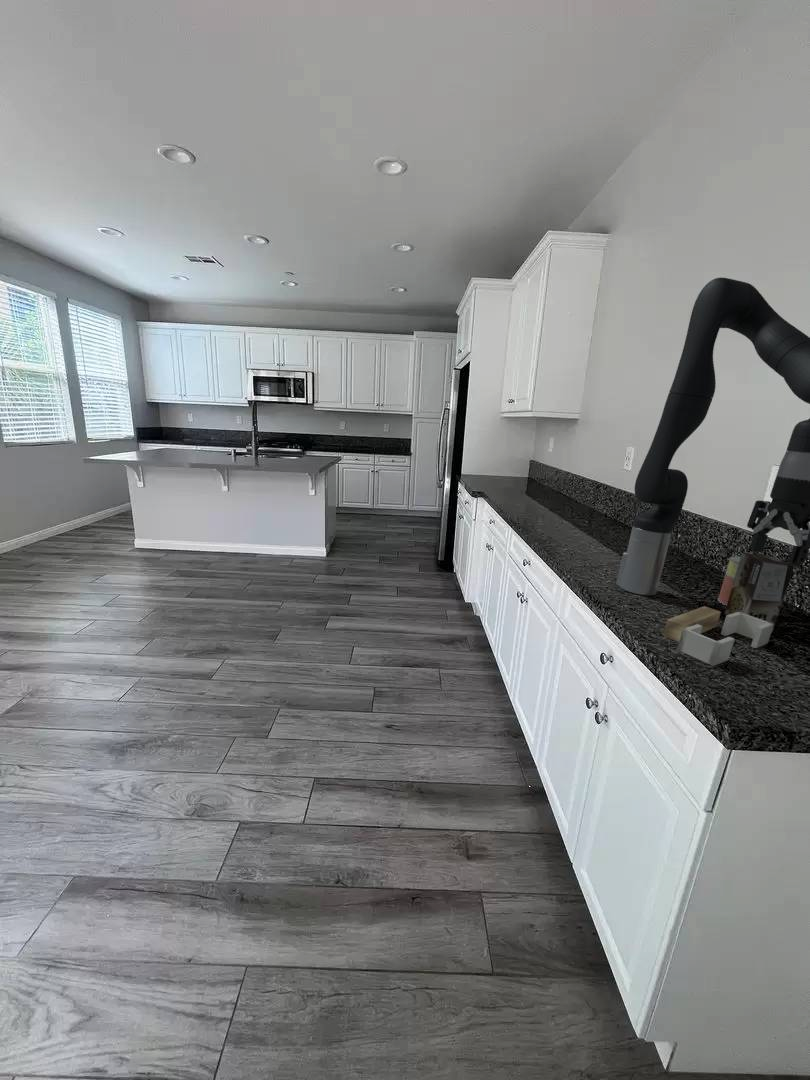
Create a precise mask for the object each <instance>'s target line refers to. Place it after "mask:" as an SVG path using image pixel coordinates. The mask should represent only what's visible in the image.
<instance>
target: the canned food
mask: <svg viewBox="0 0 810 1080" xmlns="http://www.w3.org/2000/svg"><path fill="white" fill-rule="evenodd" d="M740 558H741V556H734V555H733V556H730V557H729V560H728V564H727V567H726V571H725V575H724V576H723V577H724V578H723V582H722V584H721V588H720V592H719V596H718V597H717V601H718V603H720V604H721V603H722V605H723V606H725V605H726V607H727V603H728V600H729V596H730V593H731V589H732V586H733V582H734V579H735V575H736V572H737V568H738V565H739V561H740Z"/></svg>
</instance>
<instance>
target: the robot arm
mask: <svg viewBox="0 0 810 1080" xmlns="http://www.w3.org/2000/svg"><path fill="white" fill-rule="evenodd" d="M720 329H730V330H731V331H734V332H736V333H738V334H741V335H742V336H743V337H744V336H745V338H747V339H748V340H749V341H750V342H751V343H752V345H753V346H754V350H755V352H756V354H757V355H758V357H759V358H760V359H761V360H762V362H764V364H766V365H767V366H768V367H769V368H770V369H772V370H773V371H774V372H775V373H777V374H778V375H779V376H780V377H782V378H783V380H784V381H785V384H787V386H788V387H789V390H791V392H792V394H794V395H795V396H796V397H797V398H798V399H800V401H803V402H804V403H806V404H809V405H810V336H808V335H807V334H805V333H804V332H803V331H801V330H800V329H798V328H797V327H795V326H794V325H792V324H791V323H790V322H788V321H787V320H786V319H784V318H783V317H782V316H781V315H779V313H778V312H777V311H776V310H775V309H773V307H772V306H771V305H770V304H769V303H768V301H767V300H766V299H765V297H764V295H762V294H761V293H760V291H759V290H758V289H757V288H756V287H755V286H754V285H753V284H751V283H749V282H746V281H741V280H737V279H732V278H728V277H716V278H713V279H712V280H710V281H709V282H707V283H706V284H705V285H704V286H703V288H702V289H701V290H700V292H699V293H698V295H697V297H696V299H695V301H694V304H693V307H692V311H691V315H690V319H689V321H688V328H687V331H686V336H685V340H684V345H683V348H682V352H681V356H680V358H679V362H678V366H677V368H676V372H675V374H674V378H673V381H672V384H671V386H670V388H669V391H668V395H667V398H666V401H665V403H664V406H663V410H662V413H661V417H660V419H659V422H658V426H657V428H656V431H655V434H654V436H653V439H652V442H651V445H650V447H649V449H648V450H647V454H646V456H645V458H644V460H643V462H642V465H641V467H640V469H639V471H638V474H637V477H636V479H635V484H634V495H635V497H636V499H637V501H639V502H640V503H644V504H651V507H650V508H649V509H648V510H646V511H645V512H642V513H641V514H638V515H636V516H635V517H634V519H633V522H632V523H633V524H632V527H631V528H632V529H631V532H630V538H629V541H628V544H627V550H626V551H623V553H622V556H621V561H620V565H619V570H618V573H617V579H616V583H615V585H616V586H617V587H620V588H621V589H623V590H624V591H627V592H630V593H632V594H637V595H640V596H641V595H642V596H655V595H657V592H658V590H659V589H658V588H659V584H660V579H661V576H662V572H663V569H664V564H665V561H666V556H667V552H668V549H669V546H670V545H669V544H670V540H671V536H672V532H673V529H674V527H675V525H676V524H677V523H678V521H679V518H680V515H681V513H682V510H683V508H684V507H683V506H684V504H685V500H686V497H687V495H688V494H687V493H688V489H689V483H688V482H689V481H688V478H687V475H686V474H685V472H683V471H681V470H680V469H675V468H670V465H671V462H672V460H673V458H674V456H675V455H676V452H677V451H678V449H679V448H680V447H681V446H682V445H683V443H685V441H687V440H688V438H689V437H690V436H692V434H693V433H694V432H695V431H696V430H697V429H698V428H699V427H700V426H701V425H702V423H703V422H704V420H706V417H707V414H708V412H709V409H710V406H711V404H712V401H713V398H714V396H715V393H716V387H717V386H716V372H715V371H716V370H715V365H714V363H715V362H714V349H715V344H716V340H717V337H718V336H719V335H718V334H719V331H720ZM769 497H770V498H771V501H768V500H756V501H755V503H754V505H753V508H752V510H751V514H750V515H749V518H748V520H747V521H748V522H747V525H746V527H747V528H749V529H751V530H752V531H753V536H752V540H751V543H750V550H751V551H752V552H756V553H763V551H764V548H765V546H766V542H767V539H768V537H769V535H768V534H769V533H770V532H771V531H773V530H775V529H777V528H781V529H783V530H786V531H789V534H790V536H793V540H794V542H795V545H793V548H792V551H791V553H790V556H789V558H788V562H787V563H789V564H791V565H794V566H797V567H798V566H799V567H800V566H801V565H804V563H805V562H806V561H807V560H806V559H807V557H808V554H809V551H810V417H809V418H808V419H805V420H801V421H799V422H798V423H796V424H795V426H794V428H793V430H792V432H791V436H790V438H789V442H788V445H787V447H786V451H785V453H784V456H783V458H782V459H781V461H780V464H779V467H778V470H777V473H776V476H775V479H774V482H773V485H772V488H771V491H770V494H769Z"/></svg>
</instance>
